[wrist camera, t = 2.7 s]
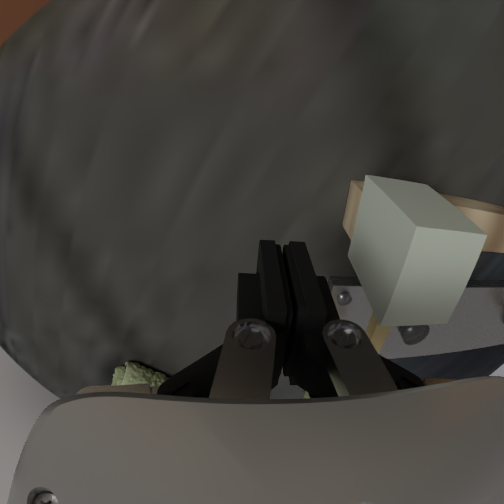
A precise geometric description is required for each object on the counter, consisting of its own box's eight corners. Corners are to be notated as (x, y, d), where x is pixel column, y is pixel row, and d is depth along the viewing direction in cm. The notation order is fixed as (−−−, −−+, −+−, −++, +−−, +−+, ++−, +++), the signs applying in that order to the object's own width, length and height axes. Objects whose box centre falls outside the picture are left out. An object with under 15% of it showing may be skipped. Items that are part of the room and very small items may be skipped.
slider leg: (426, 184, 16) (487, 235, 11) (371, 342, 22) (394, 406, 17) (365, 174, 16) (416, 226, 11) (322, 343, 22) (337, 412, 17)
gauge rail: (566, 213, 19) (616, 256, 12) (520, 313, 25) (555, 363, 18) (354, 164, 17) (416, 225, 11) (317, 323, 24) (337, 412, 17)
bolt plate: (538, 281, 23) (548, 292, 21) (506, 336, 27) (514, 348, 25) (330, 276, 22) (336, 294, 20) (309, 353, 26) (312, 371, 24)
